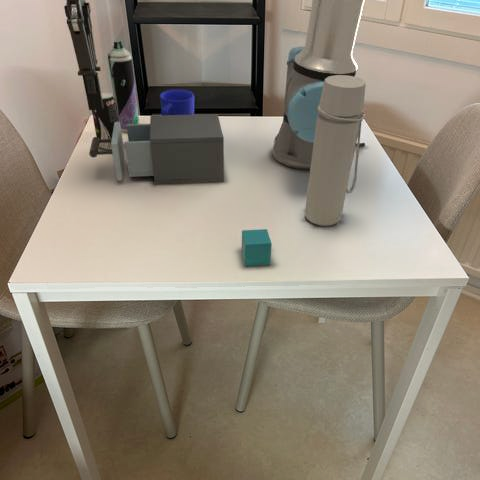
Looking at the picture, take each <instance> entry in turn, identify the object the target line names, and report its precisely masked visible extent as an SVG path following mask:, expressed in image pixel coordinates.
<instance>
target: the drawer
mask: <svg viewBox="0 0 480 480" xmlns="http://www.w3.org/2000/svg"><path fill="white" fill-rule="evenodd" d="M126 133H127V138H128V141H124V140H123V139H124V137H123V132H122V131H121V125H120V122H115V123H114V129H113V135H112V139H99V138H98V137H97V136H93V138H92V140H91V144H90V148H89V152H88V155H89V157H90V158H97V157H98V155H99V156H100V155H101V156H102V155H112V158H113V165H114V172H115V176H116V181H123V180H124V172H125V171H124V170H125V163H126V162H127V164H126V165H127V170H128V177H130V178H133V177H154V173H153V163H152V154H151V145H150V123H139V124H127V132H126ZM100 143H111V147H112V150H99V148H100V147H99V144H100ZM125 161H126V162H125Z"/></svg>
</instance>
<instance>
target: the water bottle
mask: <svg viewBox="0 0 480 480" xmlns="http://www.w3.org/2000/svg"><path fill="white" fill-rule="evenodd" d="M366 84H367V83H366V81H365V80H364V79H363V78H360V77H357V76H355V77H353V76H348V75H334V76H329V77H327V78H326V79H325V81H324V85H323V90H322V94H321V99H320V103H319V106H318V112H319V113H318V114H317V122H316V130H315V137H314V145H313V153H312V160H311V168H310V169H309V176H308V184H307V192H306V200H305V206H304V207H305V208H304V215H305V218H306V219H307V220H308V221H309V222H310V223H311V224H314V225H317V226H326V227H329V226H333V225H336V224H338V222H340V220H341V218H342V216H343V211H344V206H345V200H346V195H347V194H348V195H349V194H353V191H354V190H355V187H356V182H357V177H358V176H357V175H358V167H359V166H358V165H359V157H360V156H359V155H360V147H359V144H360V143H361V132H362V122H363V120H364V119H365V118H366V112H365V111H364V106H365V94H366V86H367V85H366ZM356 143H357V147H356ZM355 152H356V153H355ZM354 156H355V163H354V171H353V173H354V174H353V180H352V183H351V187H350V189H349V190H348V185H349V180H350V175H351V170H352V166H353V161H354Z"/></svg>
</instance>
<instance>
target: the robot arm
mask: <svg viewBox="0 0 480 480" xmlns="http://www.w3.org/2000/svg"><path fill="white" fill-rule="evenodd" d="M65 1H66V2H65V5H64V7H63V9H64V14H65V17H66V25H67V27H68V31H69V33H70V38H71V41H72V45H73V51H74V54H75V59H76V62H77V66H78V71H77V76H81V77H82V81H83V86H84V91H85V96H86V101H87V106H88V111H92V110H103V108H104V106H103V101H102V95H101V91H102V90H101V84H100V79H99V73H98V72H102V69H101V66H98V59H97V53H96V46H95V41H94V40H95V39H94V32H93V24H92V18H91V17H92V16H91V13H92V9H91V4H90V2H87V1H86V0H65ZM364 3H365V0H312V2H311V9H310V14H309V18H308V19H309V20H308V26H307V31H306V37H305V43H304V45H303V46H295V47H292V48H291V49H290V50H289V52H288V58H287V61H286V65H287V69H286V79H285V90H284V91H285V93H284V105H283V116H282V117H283V119H282V123H281V125H280V128H279V130H278V133H277V134H276V136H275V137H274V140H273V142H272V143H273V146H272V157H273V159H275V161H277V162H278V163H279V164H282V165H284V166H286V167H289V168H293V169H297V170H310V168H311V160H312V153H313V145H314V137H315V130H316V122H317V114H318V113H319V112H318V106H319V103H320V99H321V94H322V90H323V85H324V81H325V79H326V78H327V77H329V76H334V75H348V76H353V77H356V74H357V71H358V65H357V63H356V61H355V60H354V58H353V50H354V46H355V42H356V37H357V34H358V29H359V25H360V20H361V16H362V11H363V6H364ZM365 146H366V143H365V142H360V144H359V148H363V147H365ZM356 148H357V143H356Z"/></svg>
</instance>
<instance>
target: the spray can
mask: <svg viewBox="0 0 480 480" xmlns="http://www.w3.org/2000/svg"><path fill="white" fill-rule="evenodd" d="M122 44H123V43H122V40H120V41H113V46H112V47H111V49H110V51H108V52H107V60H108V62H107V63H108V70H109V76H110V83H111V89H112V96H113V97H114V99H115V100H116V104H117V110H118V117H119V122H120V125H121V131H122V133H127V124H140V116H139V108H138V100H137V91H136V83H135V76H134V75H135V73H134V68H133V67H134V66H133V58H132V53H131V52H130V51H129V50H127V49H125V46H124V45H122Z"/></svg>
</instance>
